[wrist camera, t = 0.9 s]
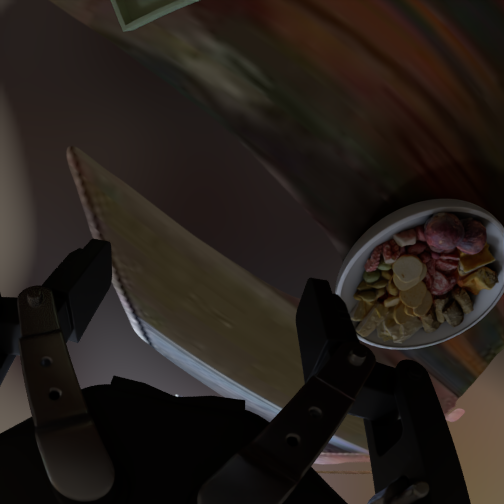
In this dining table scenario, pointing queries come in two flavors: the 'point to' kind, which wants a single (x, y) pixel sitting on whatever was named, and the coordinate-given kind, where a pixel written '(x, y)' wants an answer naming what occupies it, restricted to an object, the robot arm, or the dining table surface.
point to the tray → (144, 11)
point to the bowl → (423, 274)
